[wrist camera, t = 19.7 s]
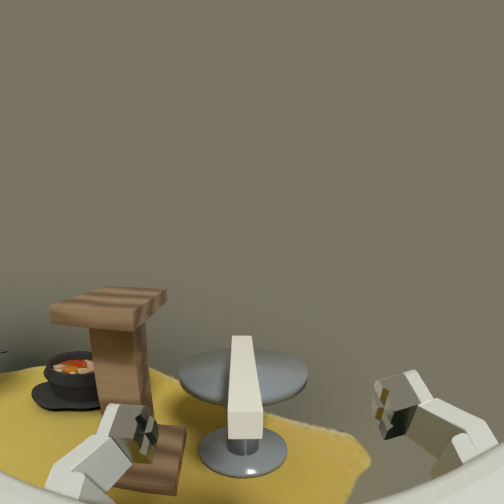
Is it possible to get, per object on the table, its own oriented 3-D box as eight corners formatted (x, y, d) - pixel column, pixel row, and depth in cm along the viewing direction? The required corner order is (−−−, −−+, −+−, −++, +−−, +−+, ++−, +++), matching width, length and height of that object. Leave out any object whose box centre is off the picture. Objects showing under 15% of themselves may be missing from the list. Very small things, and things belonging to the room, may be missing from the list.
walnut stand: (175, 500, 28) (152, 312, 28) (78, 482, 27) (35, 303, 26) (187, 432, 46) (179, 288, 45) (113, 424, 44) (96, 285, 44)
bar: (262, 438, 23) (263, 411, 23) (228, 438, 23) (227, 412, 23) (251, 353, 47) (251, 335, 47) (232, 353, 47) (232, 335, 47)
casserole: (113, 372, 69) (109, 342, 69) (151, 399, 57) (148, 364, 57) (26, 388, 49) (19, 355, 49) (46, 427, 37) (35, 387, 37)
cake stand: (163, 452, 39) (152, 368, 38) (233, 414, 53) (232, 341, 53) (257, 503, 28) (261, 412, 28) (317, 441, 43) (327, 361, 43)
